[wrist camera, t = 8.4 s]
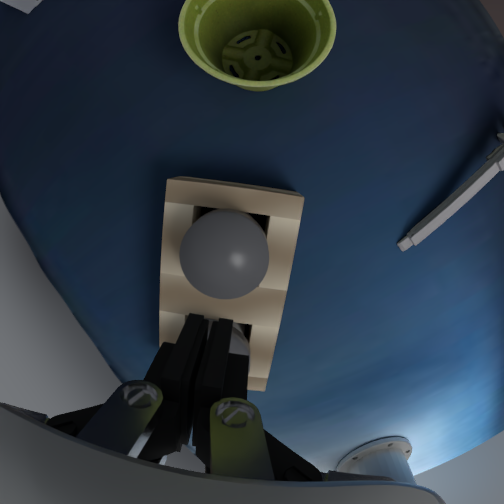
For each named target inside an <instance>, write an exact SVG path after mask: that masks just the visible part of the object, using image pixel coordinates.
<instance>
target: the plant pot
mask: <svg viewBox="0 0 504 504" xmlns="http://www.w3.org/2000/svg"><path fill="white" fill-rule="evenodd" d="M178 30H179V37H180V40H181V43H182V45H183V47H184V49H185V51H186V53H187V54H188V55H189V57H190V58H191V59H192V60H193V61H194V62H195V63H196V64H197V65H198V66H199V67H200V68H202V69H203V70H204V71H205V72H207V73H208V74H210V75H212V76H214V77H215V78H217V79H220V80H222V81H225V82H227V83H231V84H234V85H237V86H238V87H240V88H243V89H246V90H251V91H266V90H270V89H273V88H275V87H277V86H279V85H284V84H287V83H290V82H293V81H295V80H298V79H300V78H302V77H304V76H305V75H307V74H309V73H310V72H311V71H313V70H314V69H315V68H316V67H318V66H319V65H320V64H321V63H322V61H323V60H324V59H325V58H326V56H327V55H328V53H329V52H330V50H331V48H332V46H333V43H334V39H335V35H336V19H335V15H334V12H333V9H332V7H331V5H330V3H329V1H328V0H186V1H185V3H184V5H183V7H182V10H181V12H180V17H179V23H178ZM245 36H251V38H250V39H247V40H245V41H243V42H241V43H240V44H237V41H238V40H240V39H242V38H243V37H245ZM276 42H278V43H280V44H281V45H282V46H283V47H284V48H285V50H286V53H285V54H283V53H282V51H281V49H280V48H279V46H278V44H276ZM257 55H258V56H260V57H261V59H260V60H255V56H257ZM230 65H232V66H233V68H234V70H235V72H236V73H237V74H238V75H239V77H238V78H236V77H234V76H233V74H232V72H231V71H230V69H229V66H230ZM277 75H279V78H278V79H274V80H270V79H272V78H274V77H276V76H277Z"/></svg>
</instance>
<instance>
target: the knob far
mask: <svg viewBox="0 0 504 504" xmlns="http://www.w3.org/2000/svg"><path fill="white" fill-rule="evenodd" d="M204 319H207V320H209V327H208V336H209V333H210V329H211V326H212V323H213V321H219V320H215V319H208V318H204ZM244 333H245V324H243V323H236V322H233V328H232V335H231V342H230V350H229V353H235V354H242V355H249V369H248V375H249V372H250V353H251V352H250V345H249V343H248V341H247V339H246V337H245V336H244ZM207 340H208V338H207Z"/></svg>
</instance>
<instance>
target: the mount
mask: <svg viewBox="0 0 504 504" xmlns="http://www.w3.org/2000/svg"><path fill="white" fill-rule="evenodd" d="M303 202H304V197H303V196H302V195H300V194H299V193H298V192H295V191H289V190H282V189H276V188H269V187H263V186H256V185H249V184H242V183H234V182H226V181H219V180H210V179H202V178H193V177H184V176H179V177H174V178H170V179H167V185H166V196H165V207H164V219H163V233H162V250H161V271H160V311H159V341H160V347H161V345H162V343H163V342H170V343H176V341H177V339H178V337H179V335H180V333H181V330H182V328H183V326H184V324H185V322H186V319H187V317H188V315H189V313H194V314H200V315H204V318H208V319H215V320H219V318H225V319H232V320H233V322H236V323H243V324H249V330H248V336H247V341H248V343H249V345H250V352H251V353H250V372H249V375H248V387H247V390H257V391H265V388H266V384H267V379H268V375H269V371H270V366H271V362H272V358H273V353H274V349H275V344H276V340H277V335H278V331H279V326H280V322H281V317H282V312H283V307H284V303H285V298H286V293H287V288H288V283H289V278H290V273H291V268H292V263H293V257H294V252H295V247H296V241H297V236H298V231H299V225H300V219H301V214H302V208H303ZM202 206H203V207H211V208H219V209H225V208H227V209H235V210H239V211H242V212H248V213H255V214H262V215H267V218H266V224H265V231H264V233H265V235H266V239H267V243H268V250H269V265H268V270H267V272H266V275H265V277H264V279H263V280H262V282H261V283H260V284H259V285H258V286H257V287H256V288H255V289H254V290H253V291H251V292H250V293H248V294H246V295H244V296H242V297H239V298H235V299H217V298H212V297H209V296H207V295H205V294H203V293H201V292H200V291H198V290H197V289H196V288H194V287H193V286H192V285H191V284H190V283H189V281H188V280H187V279H186V277H185V275H184V273H183V271H182V268H181V264H180V258H179V252H180V246H181V242H182V239H183V237H184V235H185V234H186V232H187V231H188V229H189V228H190V227H191V226H192V225H193V224H194V223H195V222H196V221H197V220H198V219H199V218H200V217H201V210H202Z"/></svg>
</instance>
